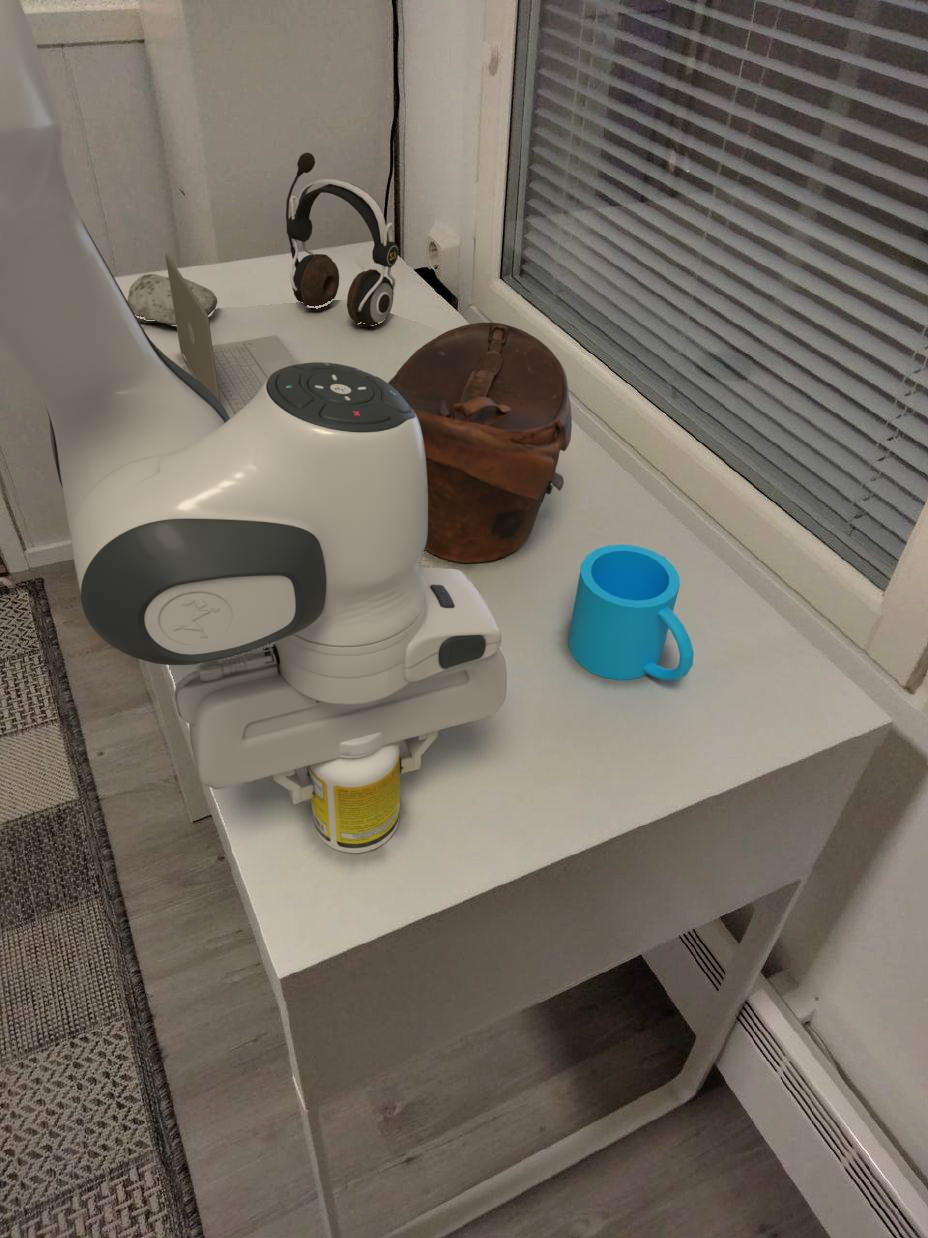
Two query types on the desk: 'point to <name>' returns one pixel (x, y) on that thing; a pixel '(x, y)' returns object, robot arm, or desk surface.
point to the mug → (627, 614)
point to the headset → (318, 271)
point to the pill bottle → (357, 794)
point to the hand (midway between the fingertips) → (355, 779)
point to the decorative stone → (163, 299)
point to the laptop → (222, 351)
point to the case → (486, 435)
